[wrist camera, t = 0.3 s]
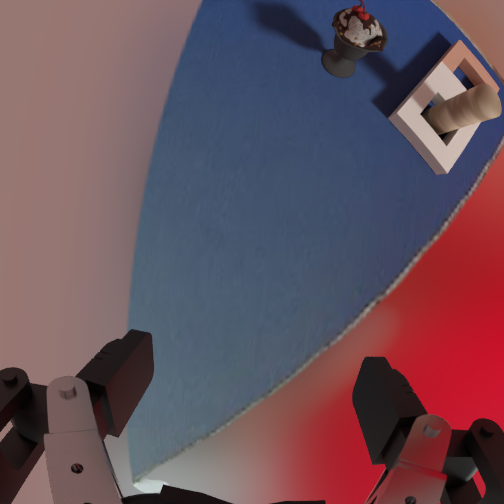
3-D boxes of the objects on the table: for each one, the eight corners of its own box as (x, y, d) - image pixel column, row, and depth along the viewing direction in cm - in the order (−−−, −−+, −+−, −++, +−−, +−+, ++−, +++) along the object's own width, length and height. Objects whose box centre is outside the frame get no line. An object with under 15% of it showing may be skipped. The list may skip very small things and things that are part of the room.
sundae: (315, 41, 33) (340, -22, 18) (359, 50, 33) (400, -4, 18) (315, 78, 34) (344, 20, 19) (361, 87, 34) (408, 39, 19)
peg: (420, 106, 34) (475, 78, 20) (441, 113, 34) (498, 89, 20) (422, 132, 35) (481, 111, 21) (443, 138, 35) (503, 121, 21)
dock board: (451, 45, 32) (459, 39, 29) (489, 92, 33) (499, 88, 30) (387, 118, 35) (396, 113, 32) (436, 174, 36) (447, 173, 33)
